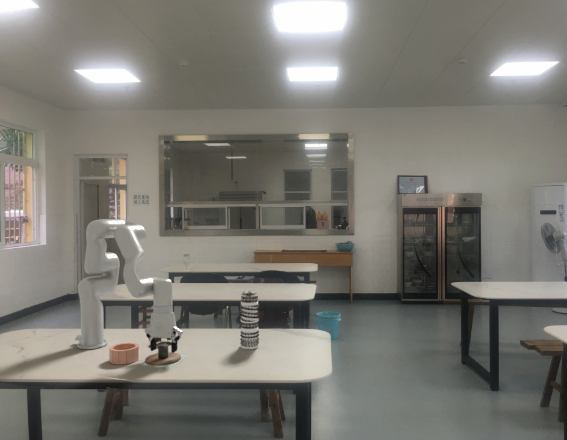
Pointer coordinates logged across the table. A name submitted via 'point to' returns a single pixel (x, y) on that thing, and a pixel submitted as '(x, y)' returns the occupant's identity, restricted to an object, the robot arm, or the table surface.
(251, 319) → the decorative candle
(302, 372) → the table surface
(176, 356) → the lid
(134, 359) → the bowl
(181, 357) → the mat
